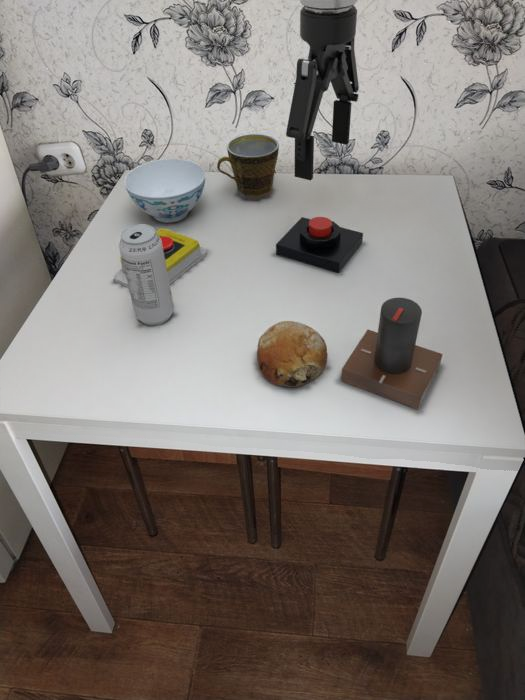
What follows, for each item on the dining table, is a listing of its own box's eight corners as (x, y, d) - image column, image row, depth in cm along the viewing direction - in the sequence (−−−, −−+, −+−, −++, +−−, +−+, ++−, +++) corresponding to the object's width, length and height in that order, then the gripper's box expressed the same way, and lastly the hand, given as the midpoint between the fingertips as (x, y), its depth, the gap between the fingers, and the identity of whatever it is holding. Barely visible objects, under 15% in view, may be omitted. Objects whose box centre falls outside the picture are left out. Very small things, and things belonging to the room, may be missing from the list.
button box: (362, 243, 105) (363, 223, 102) (338, 273, 99) (340, 253, 96) (301, 227, 109) (302, 208, 107) (276, 254, 103) (275, 235, 101)
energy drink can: (182, 310, 93) (168, 228, 83) (157, 332, 90) (139, 250, 79) (153, 298, 96) (136, 217, 85) (128, 319, 92) (107, 237, 82)
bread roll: (329, 371, 87) (335, 320, 85) (317, 397, 78) (324, 340, 75) (264, 360, 89) (269, 309, 87) (245, 384, 80) (250, 328, 77)
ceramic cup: (262, 175, 124) (260, 129, 117) (289, 195, 118) (289, 147, 111) (208, 194, 120) (203, 147, 113) (234, 215, 113) (230, 166, 106)
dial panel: (439, 366, 82) (443, 352, 81) (418, 410, 77) (421, 397, 75) (366, 341, 87) (368, 327, 85) (340, 381, 81) (341, 368, 79)
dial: (382, 343, 82) (389, 291, 76) (416, 355, 80) (427, 302, 74) (368, 366, 79) (375, 313, 73) (404, 379, 77) (414, 326, 71)
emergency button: (206, 231, 101) (148, 276, 93) (209, 253, 104) (153, 298, 96) (165, 217, 105) (106, 258, 97) (169, 238, 108) (111, 280, 100)
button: (335, 228, 102) (336, 219, 101) (325, 240, 100) (326, 231, 98) (314, 223, 104) (315, 214, 102) (304, 234, 101) (304, 225, 100)
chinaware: (215, 195, 119) (211, 158, 114) (201, 235, 109) (197, 198, 103) (142, 193, 121) (136, 157, 115) (122, 233, 110) (114, 196, 105)
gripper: (313, 36, 69) (309, 200, 83) (389, -14, 84) (374, 132, 99) (257, 28, 71) (263, 189, 86) (341, -19, 87) (333, 124, 101)
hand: (322, 159), depth 92 cm, fingers open, 12 cm apart
